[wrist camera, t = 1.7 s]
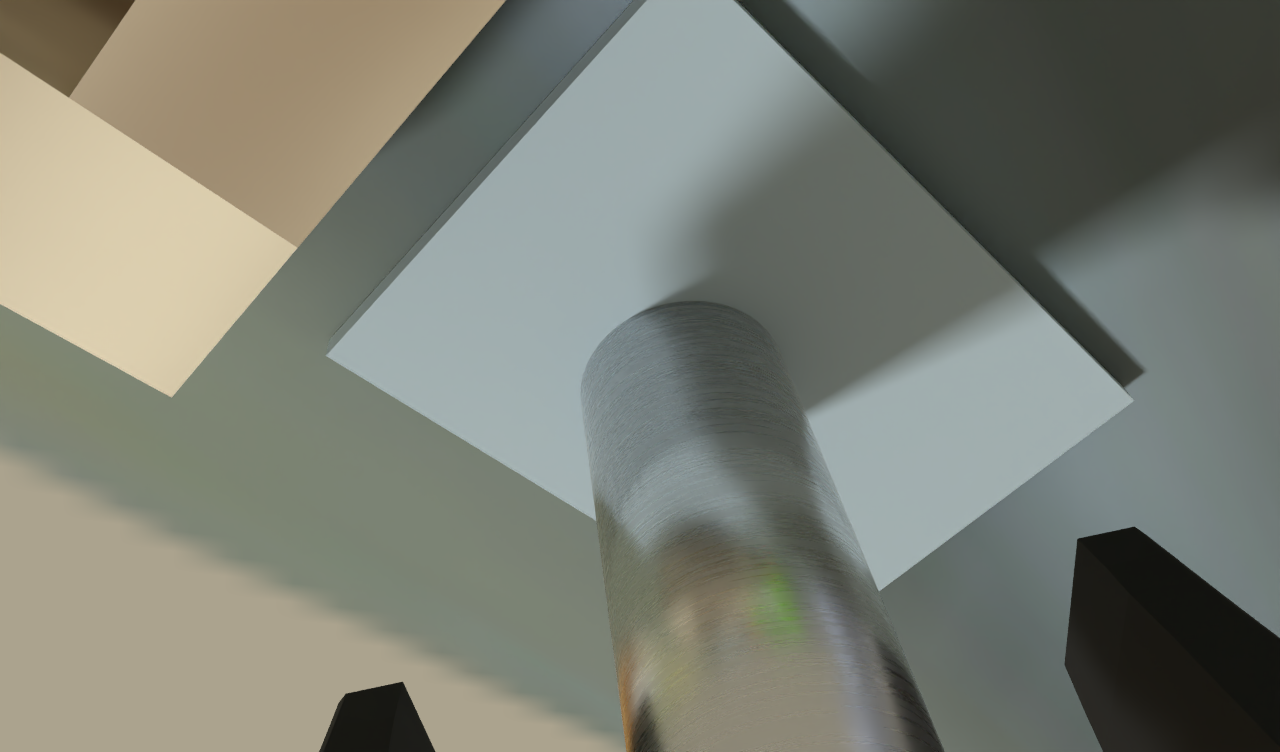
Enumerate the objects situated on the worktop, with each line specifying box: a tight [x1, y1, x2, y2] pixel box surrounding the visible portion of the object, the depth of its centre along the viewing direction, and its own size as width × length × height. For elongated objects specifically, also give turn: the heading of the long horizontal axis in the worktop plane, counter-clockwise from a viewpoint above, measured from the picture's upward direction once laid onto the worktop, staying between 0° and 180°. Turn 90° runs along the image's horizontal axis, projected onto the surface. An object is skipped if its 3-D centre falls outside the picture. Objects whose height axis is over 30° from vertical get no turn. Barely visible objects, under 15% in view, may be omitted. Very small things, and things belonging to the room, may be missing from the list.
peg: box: [580, 301, 944, 752], centre depth 12 cm, size 3×3×9 cm
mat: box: [326, 0, 1134, 591], centre depth 16 cm, size 10×7×1 cm
